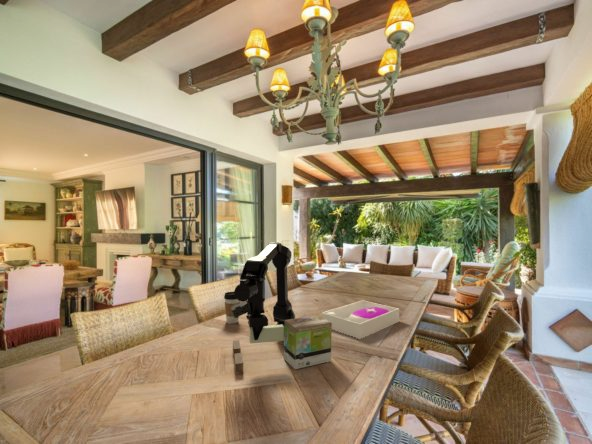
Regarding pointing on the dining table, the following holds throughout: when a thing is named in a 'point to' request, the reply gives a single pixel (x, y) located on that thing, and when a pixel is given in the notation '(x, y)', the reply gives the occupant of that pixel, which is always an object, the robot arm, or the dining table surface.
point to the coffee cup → (229, 302)
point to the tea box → (307, 341)
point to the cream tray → (361, 318)
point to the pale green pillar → (268, 334)
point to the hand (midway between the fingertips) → (255, 338)
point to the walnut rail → (237, 357)
